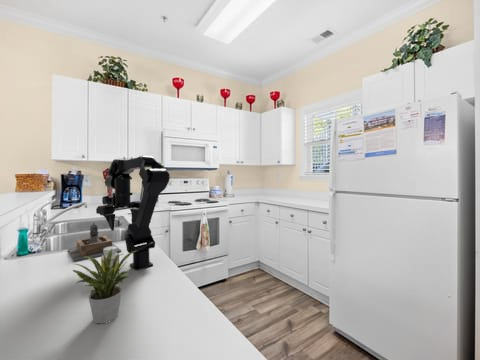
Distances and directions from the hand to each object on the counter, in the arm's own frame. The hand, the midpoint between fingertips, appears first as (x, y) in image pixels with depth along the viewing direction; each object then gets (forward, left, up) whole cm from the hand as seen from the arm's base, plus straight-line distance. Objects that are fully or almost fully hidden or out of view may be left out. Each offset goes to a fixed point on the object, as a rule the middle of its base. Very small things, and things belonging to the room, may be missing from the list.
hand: (123, 228), depth 100 cm
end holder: (+16, +7, -12) cm, 22 cm away
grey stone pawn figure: (+16, +7, -12) cm, 21 cm away
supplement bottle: (-16, +9, -12) cm, 22 cm away
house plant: (-40, +15, -12) cm, 45 cm away
